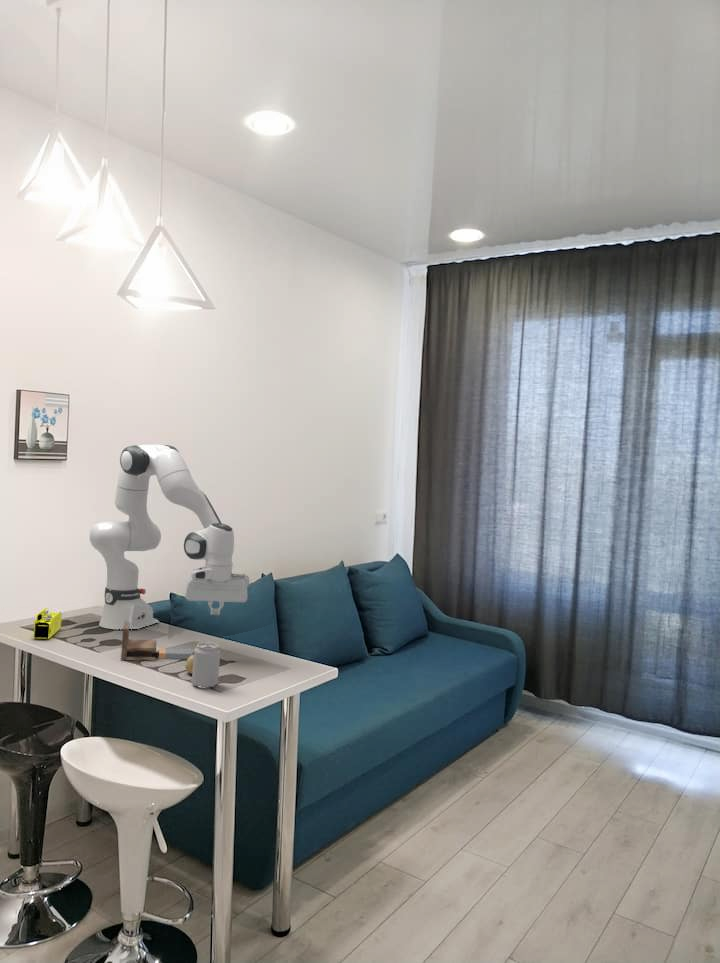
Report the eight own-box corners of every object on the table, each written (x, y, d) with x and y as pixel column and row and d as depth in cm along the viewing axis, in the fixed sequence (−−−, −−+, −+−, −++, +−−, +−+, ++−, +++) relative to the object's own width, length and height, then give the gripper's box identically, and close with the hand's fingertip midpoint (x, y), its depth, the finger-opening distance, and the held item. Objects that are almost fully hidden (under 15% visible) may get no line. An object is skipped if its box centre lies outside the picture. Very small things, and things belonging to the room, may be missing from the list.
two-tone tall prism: (196, 655, 250) (196, 649, 250) (196, 660, 244) (197, 654, 244) (158, 654, 247) (159, 648, 247) (158, 659, 241) (159, 653, 241)
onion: (210, 670, 234) (211, 647, 233) (212, 677, 226) (214, 654, 226) (183, 670, 231) (185, 647, 231) (185, 678, 224) (187, 654, 223)
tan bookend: (155, 651, 249) (158, 622, 248) (155, 660, 239) (157, 629, 238) (122, 651, 246) (125, 621, 246) (120, 660, 236) (123, 628, 236)
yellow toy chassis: (44, 629, 266) (46, 606, 266) (61, 630, 267) (63, 606, 267) (31, 640, 250) (33, 615, 250) (49, 641, 251) (51, 616, 251)
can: (191, 689, 214) (194, 647, 213) (191, 681, 221) (195, 641, 221) (217, 689, 215) (221, 648, 215) (217, 681, 223) (220, 641, 222)
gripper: (248, 572, 253) (245, 613, 253) (186, 570, 248) (183, 611, 248) (250, 575, 247) (247, 617, 247) (187, 573, 242) (184, 615, 242)
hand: (215, 614), depth 248 cm, fingers closed
